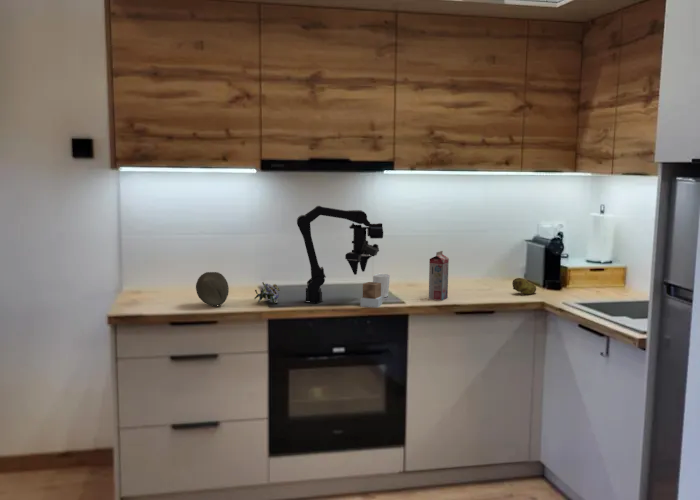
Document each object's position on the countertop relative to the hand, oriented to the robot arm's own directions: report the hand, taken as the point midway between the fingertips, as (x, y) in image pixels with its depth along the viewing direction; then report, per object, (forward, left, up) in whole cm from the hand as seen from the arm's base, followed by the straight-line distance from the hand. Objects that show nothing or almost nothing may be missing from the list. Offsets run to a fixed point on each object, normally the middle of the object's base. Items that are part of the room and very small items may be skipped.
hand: (359, 273), depth 297 cm
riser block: (+8, -5, -13) cm, 16 cm away
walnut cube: (+8, -5, -9) cm, 13 cm away
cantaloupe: (-54, -36, -13) cm, 66 cm away
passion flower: (-35, -22, -13) cm, 43 cm away
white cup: (+5, +15, -13) cm, 21 cm away
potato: (+66, +49, -13) cm, 83 cm away
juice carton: (+31, +21, -13) cm, 40 cm away
